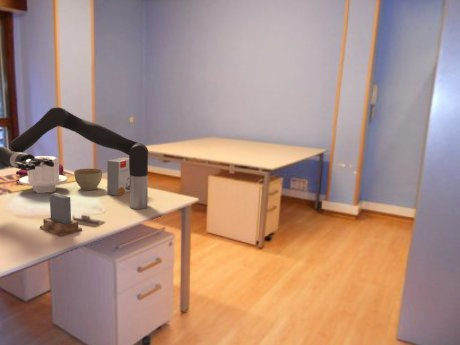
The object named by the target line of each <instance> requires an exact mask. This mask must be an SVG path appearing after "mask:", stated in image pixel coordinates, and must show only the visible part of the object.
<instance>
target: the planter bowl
mask: <svg viewBox="0 0 460 345" xmlns="http://www.w3.org/2000/svg"><path fill="white" fill-rule="evenodd" d="M103 172H104V171H103V169H100V168H91V167H90V168H89V167H88V168H80V169H76V170H74V171H73V174H74V179H75V182H76V184H77V185H78V186H79V188H80V190H83V191H93V190H97V189H98V186H99V185H100V183H101V181H102V179H103V178H102V177H103Z"/></svg>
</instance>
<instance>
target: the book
mask: <svg viewBox="0 0 460 345" xmlns="http://www.w3.org/2000/svg"><path fill="white" fill-rule="evenodd" d="M63 173H64V166H63V164H59V175H63ZM15 175H17V176H19V179H20V178H22V177H26V176H28V173H27V171H26V170H21V169H18V170H17V171H15ZM19 179H17V180H16V182H17V181H19Z"/></svg>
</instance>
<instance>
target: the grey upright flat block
mask: <svg viewBox="0 0 460 345" xmlns="http://www.w3.org/2000/svg"><path fill="white" fill-rule="evenodd" d="M71 201H72V200H71V197H70V196H67V195H65V194H62V193H58V192H53V193H50V194H49V207H50V212H49V213H50V217H51V220H53V221H55V222H58V223H61V224H63V225H65V224H69V223H71V219H72V213H71V212H72V207H71V206H72V204H71Z"/></svg>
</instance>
